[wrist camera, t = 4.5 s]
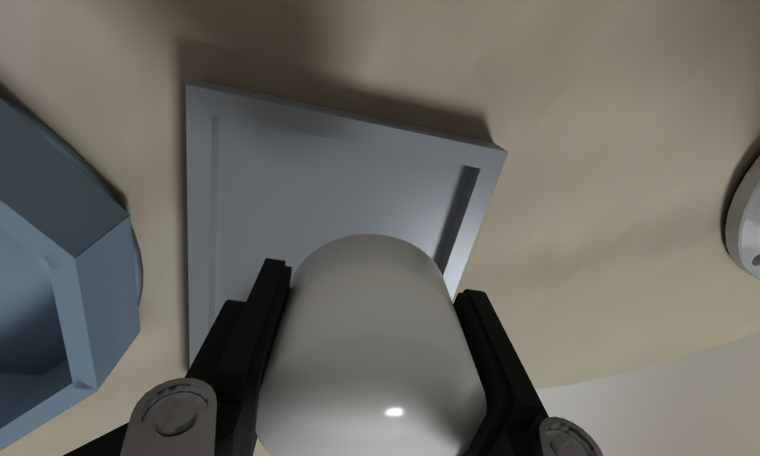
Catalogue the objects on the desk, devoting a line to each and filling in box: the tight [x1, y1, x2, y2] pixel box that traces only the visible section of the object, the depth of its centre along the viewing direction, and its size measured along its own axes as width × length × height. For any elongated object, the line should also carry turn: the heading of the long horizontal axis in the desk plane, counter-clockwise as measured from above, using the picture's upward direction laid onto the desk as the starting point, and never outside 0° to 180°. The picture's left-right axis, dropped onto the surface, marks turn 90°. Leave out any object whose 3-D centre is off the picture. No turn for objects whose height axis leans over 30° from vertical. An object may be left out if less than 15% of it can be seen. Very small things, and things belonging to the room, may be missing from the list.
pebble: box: [255, 234, 487, 456], centre depth 10 cm, size 5×5×4 cm
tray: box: [186, 81, 508, 367], centre depth 20 cm, size 14×19×2 cm
